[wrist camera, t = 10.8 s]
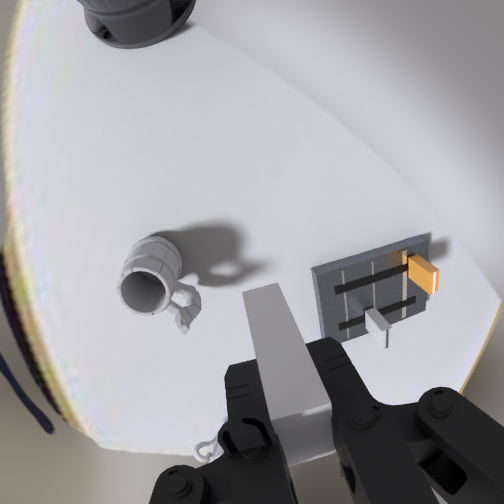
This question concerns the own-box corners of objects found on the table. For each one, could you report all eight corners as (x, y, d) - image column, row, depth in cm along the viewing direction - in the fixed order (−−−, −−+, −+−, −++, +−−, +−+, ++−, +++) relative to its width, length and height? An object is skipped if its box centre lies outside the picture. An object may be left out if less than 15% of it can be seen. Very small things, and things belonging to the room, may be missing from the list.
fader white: (365, 310, 47) (382, 332, 41) (374, 307, 47) (392, 328, 41) (365, 328, 48) (382, 350, 42) (375, 324, 48) (392, 345, 42)
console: (311, 268, 46) (316, 275, 43) (419, 235, 46) (428, 240, 44) (321, 339, 51) (326, 348, 49) (418, 303, 52) (425, 310, 49)
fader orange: (408, 257, 44) (430, 273, 38) (417, 254, 44) (440, 270, 39) (408, 277, 46) (429, 294, 40) (417, 274, 46) (438, 291, 40)
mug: (149, 222, 40) (127, 254, 29) (217, 271, 44) (219, 317, 33) (120, 263, 42) (95, 305, 31) (186, 308, 46) (180, 359, 34)
